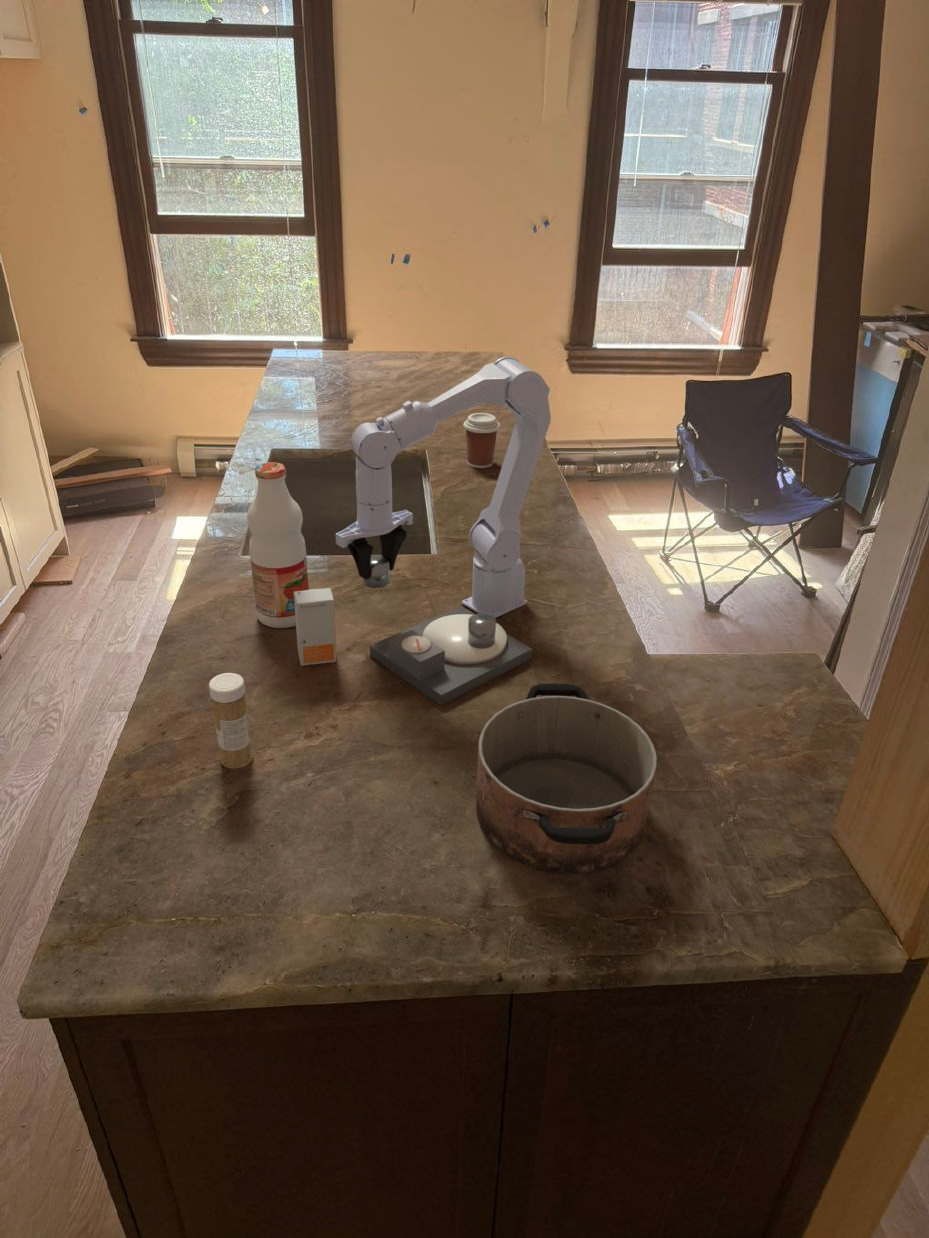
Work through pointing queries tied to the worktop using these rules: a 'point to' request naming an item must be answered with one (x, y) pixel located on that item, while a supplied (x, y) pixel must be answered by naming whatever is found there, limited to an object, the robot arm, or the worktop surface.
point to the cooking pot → (564, 781)
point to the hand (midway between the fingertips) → (376, 572)
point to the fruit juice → (276, 548)
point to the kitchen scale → (448, 656)
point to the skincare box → (315, 626)
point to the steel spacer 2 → (481, 631)
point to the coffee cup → (481, 439)
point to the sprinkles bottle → (231, 720)
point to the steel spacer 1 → (378, 572)
